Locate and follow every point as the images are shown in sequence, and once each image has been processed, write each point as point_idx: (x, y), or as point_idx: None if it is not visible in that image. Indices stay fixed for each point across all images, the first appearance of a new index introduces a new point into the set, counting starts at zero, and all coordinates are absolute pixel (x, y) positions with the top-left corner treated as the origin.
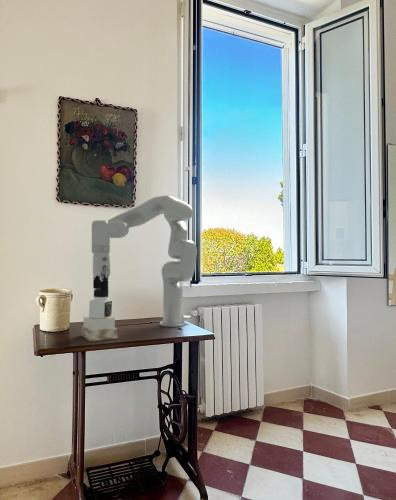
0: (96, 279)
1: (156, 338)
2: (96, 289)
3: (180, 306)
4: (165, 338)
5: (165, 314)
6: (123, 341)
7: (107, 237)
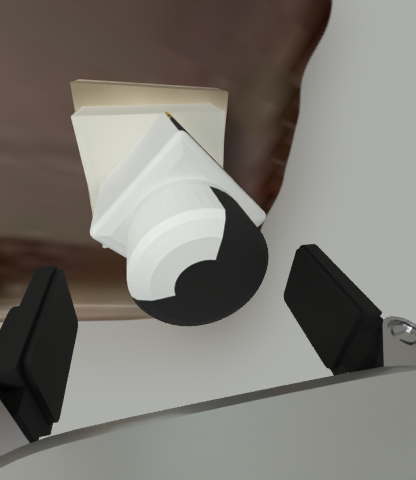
0: (39, 413)
1: None
2: (214, 319)
3: None
4: None
5: None
6: (282, 92)
7: None
